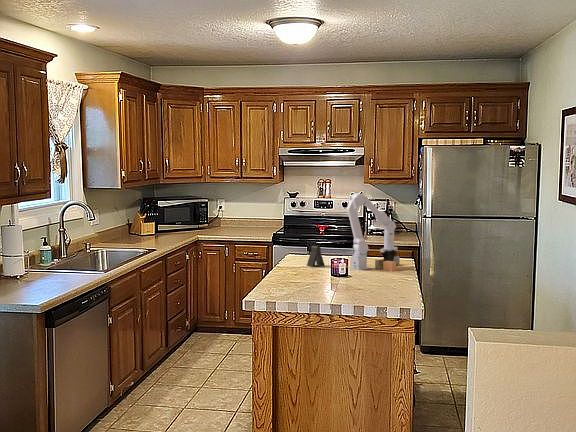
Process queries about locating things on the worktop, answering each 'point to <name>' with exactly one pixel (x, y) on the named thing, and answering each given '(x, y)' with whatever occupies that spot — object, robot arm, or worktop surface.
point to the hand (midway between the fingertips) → (388, 263)
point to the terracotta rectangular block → (389, 265)
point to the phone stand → (315, 257)
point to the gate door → (381, 263)
